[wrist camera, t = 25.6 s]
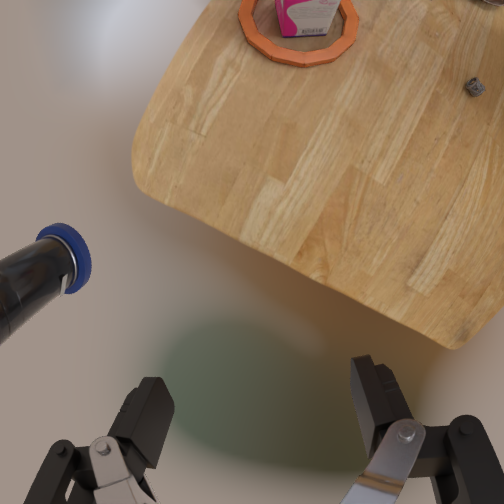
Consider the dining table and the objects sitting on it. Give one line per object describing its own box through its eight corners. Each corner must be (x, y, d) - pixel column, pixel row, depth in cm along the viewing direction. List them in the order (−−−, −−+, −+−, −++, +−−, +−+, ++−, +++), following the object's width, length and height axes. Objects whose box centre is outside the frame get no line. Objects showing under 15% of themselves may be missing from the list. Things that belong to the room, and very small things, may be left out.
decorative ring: (469, 78, 28) (480, 75, 25) (477, 87, 28) (488, 85, 25) (462, 88, 29) (473, 86, 26) (470, 98, 29) (482, 96, 26)
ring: (260, 78, 31) (260, 74, 30) (227, -9, 27) (225, -14, 25) (370, 56, 29) (374, 53, 28) (330, -27, 25) (332, -33, 23)
